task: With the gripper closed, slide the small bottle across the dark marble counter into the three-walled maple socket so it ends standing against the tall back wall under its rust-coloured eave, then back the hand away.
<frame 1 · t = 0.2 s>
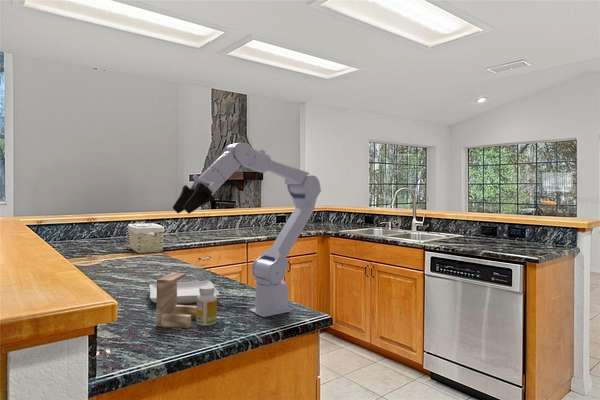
hand: (180, 210, 104), 31 cm above the countertop, tool tilted 45°, fingers open, 7 cm apart
storage basket: (145, 250, 238), on the countertop
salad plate: (182, 298, 137), on the countertop
socket station: (181, 321, 111), on the countertop
supplement bottle: (206, 323, 111), on the countertop
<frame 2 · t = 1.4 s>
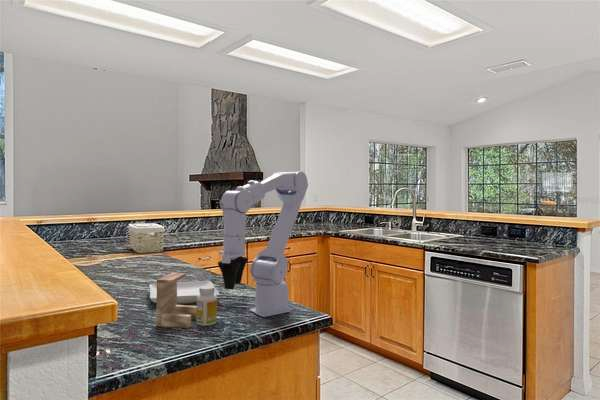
hand: (232, 286, 109), 10 cm above the countertop, tool pointing down, fingers open, 6 cm apart
nothing on the countertop moved.
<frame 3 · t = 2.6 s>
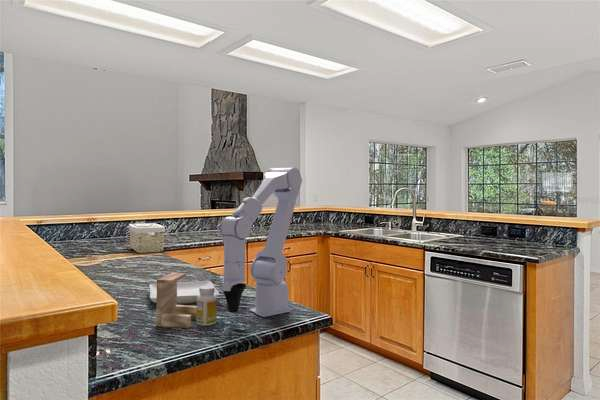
hand: (233, 311, 110), 3 cm above the countertop, tool pointing down, fingers closed
nothing on the countertop moved.
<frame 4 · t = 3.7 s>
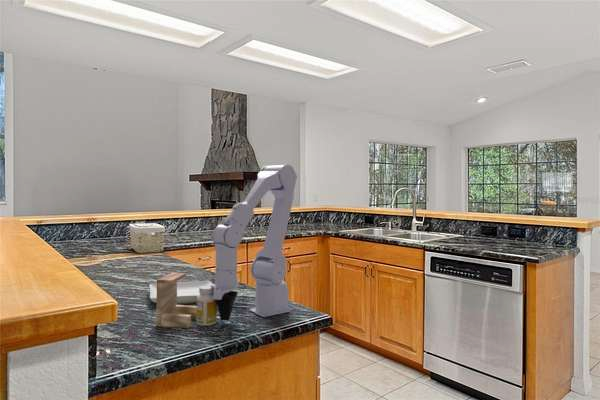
hand: (225, 319, 110), 1 cm above the countertop, tool pointing down, fingers closed, pressing on supplement bottle
supplement bottle: (206, 323, 111), on the countertop, touching gripper
everything else where it was.
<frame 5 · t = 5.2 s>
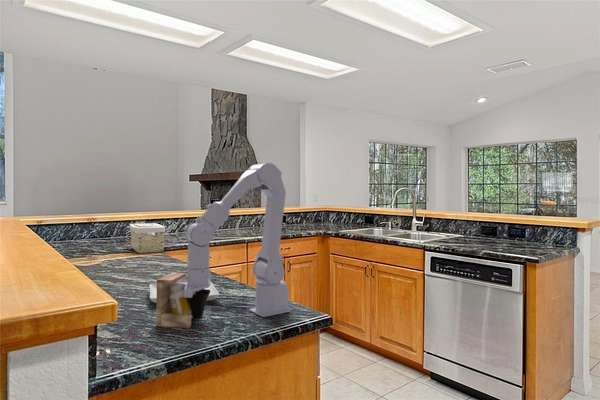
hand: (197, 317, 111), 1 cm above the countertop, tool pointing down, fingers closed, pressing on supplement bottle
supplement bottle: (185, 319, 111), on the countertop, touching gripper
everything else where it was.
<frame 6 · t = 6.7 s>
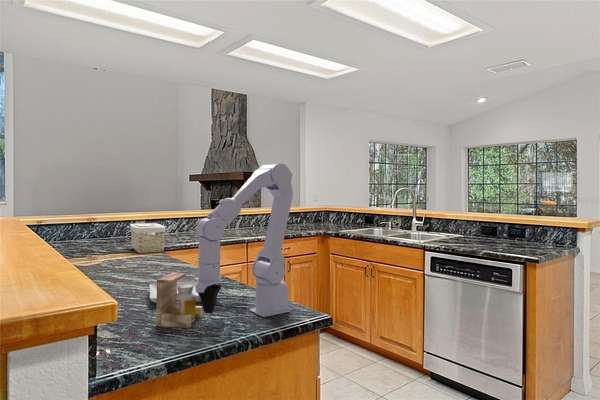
hand: (208, 312, 111), 3 cm above the countertop, tool pointing down, fingers closed
supplement bottle: (184, 321, 112), on the countertop
everything else where it was.
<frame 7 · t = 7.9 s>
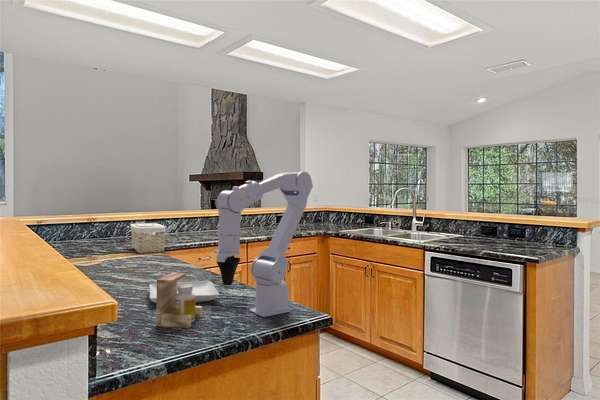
hand: (227, 284, 111), 10 cm above the countertop, tool pointing down, fingers closed
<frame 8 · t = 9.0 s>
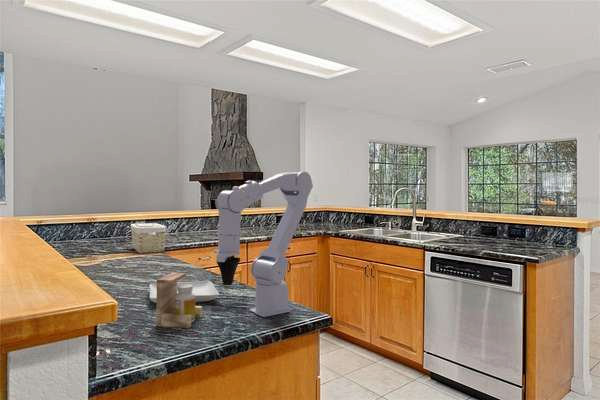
hand: (227, 284, 111), 10 cm above the countertop, tool pointing down, fingers closed
at the end: supplement bottle 0.8 cm off-centre on the socket station, point 0.0 cm above the socket station's base; supplement bottle tilted 0°; supplement bottle moved 6.2 cm from its start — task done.
